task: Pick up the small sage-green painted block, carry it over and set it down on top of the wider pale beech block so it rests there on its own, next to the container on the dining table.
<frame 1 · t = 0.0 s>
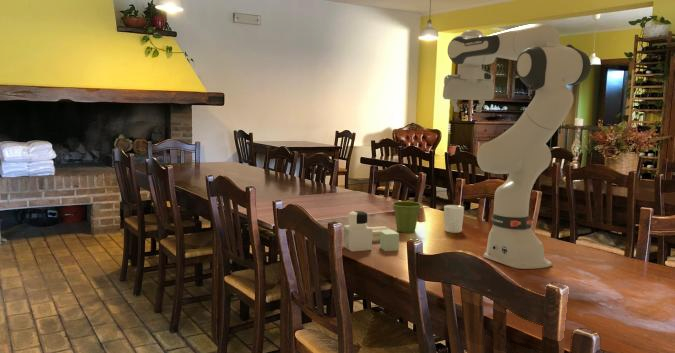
hand: (467, 111, 204), 48 cm above the table, tool pointing down, fingers open, 8 cm apart
white cup: (453, 231, 217), on the table
plant pot: (405, 231, 215), on the table
beech block: (379, 239, 202), on the table
container: (357, 248, 188), on the table
sage block: (389, 249, 187), on the table
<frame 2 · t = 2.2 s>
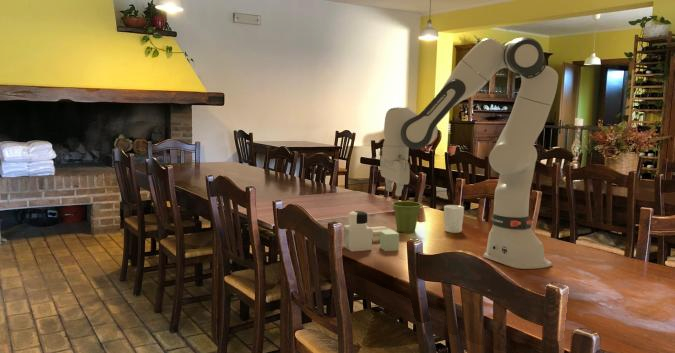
hand: (393, 193, 186), 19 cm above the table, tool pointing down, fingers open, 8 cm apart
nothing on the table moved.
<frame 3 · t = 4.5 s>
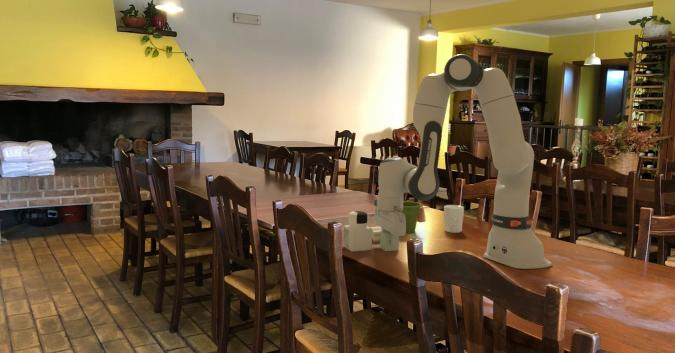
hand: (389, 242, 187), 2 cm above the table, tool pointing down, fingers closed on sage block, 5 cm apart
sage block: (389, 248, 187), on the table, touching gripper
everything else where it was.
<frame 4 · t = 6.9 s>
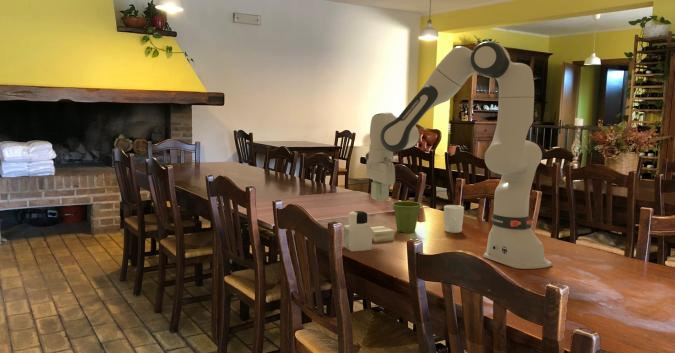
hand: (379, 193, 200), 17 cm above the table, tool pointing down, fingers closed on sage block, 5 cm apart
sage block: (379, 198, 200), point 15 cm above the table, touching gripper
everything else where it was.
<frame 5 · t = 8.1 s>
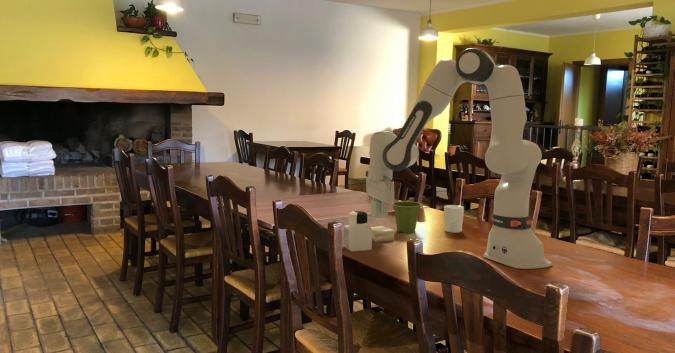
hand: (379, 210, 201), 11 cm above the table, tool pointing down, fingers closed on sage block, 5 cm apart
sage block: (379, 216, 201), point 9 cm above the table, touching gripper
everything else where it was.
when the fingers open (8 cm above the table, at t = 9.1 s): sage block drops 2 cm, resting on beech block.
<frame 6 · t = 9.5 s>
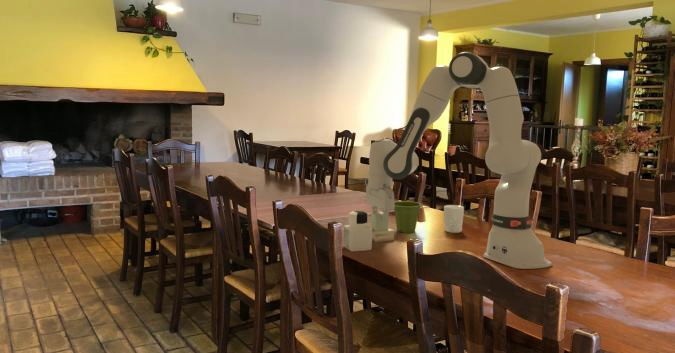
hand: (379, 218, 201), 8 cm above the table, tool pointing down, fingers open, 8 cm apart
beech block: (379, 239, 202), on the table, touching sage block
sage block: (379, 229, 201), point 4 cm above the table, touching beech block
everything else where it was.
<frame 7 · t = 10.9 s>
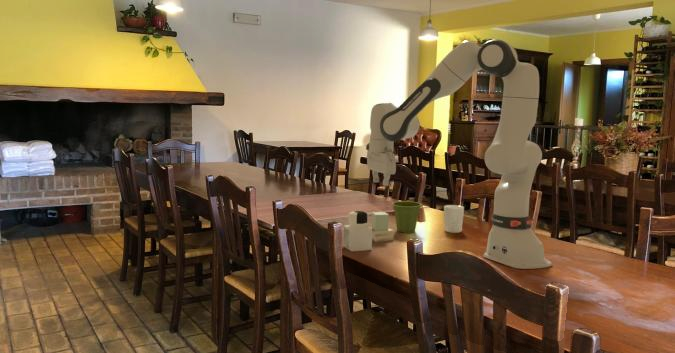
hand: (380, 183, 200), 21 cm above the table, tool pointing down, fingers open, 8 cm apart
nothing on the table moved.
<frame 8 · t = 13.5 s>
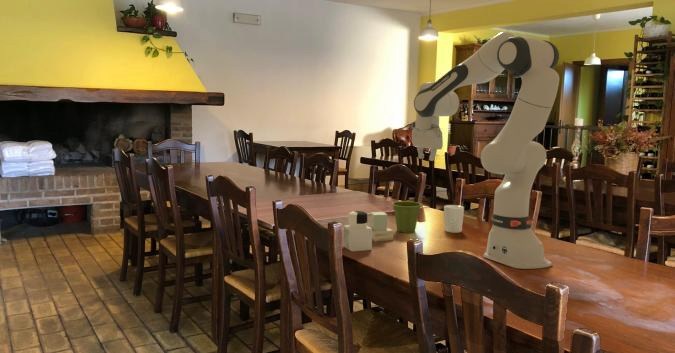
hand: (426, 159, 211), 29 cm above the table, tool pointing down, fingers open, 8 cm apart
nothing on the table moved.
at the end: sage block 0.3 cm off-centre on the beech block, point 4.0 cm above the beech block's base; sage block tilted 0°; the gripper is holding nothing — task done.
